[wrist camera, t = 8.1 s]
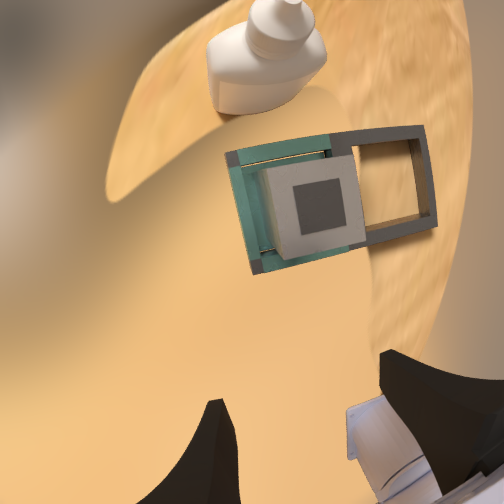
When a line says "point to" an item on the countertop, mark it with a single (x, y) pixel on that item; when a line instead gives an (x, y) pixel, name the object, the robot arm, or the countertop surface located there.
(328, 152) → the grey flat frame
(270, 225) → the block
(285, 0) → the eye dropper bottle
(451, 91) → the countertop surface
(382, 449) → the robot arm
